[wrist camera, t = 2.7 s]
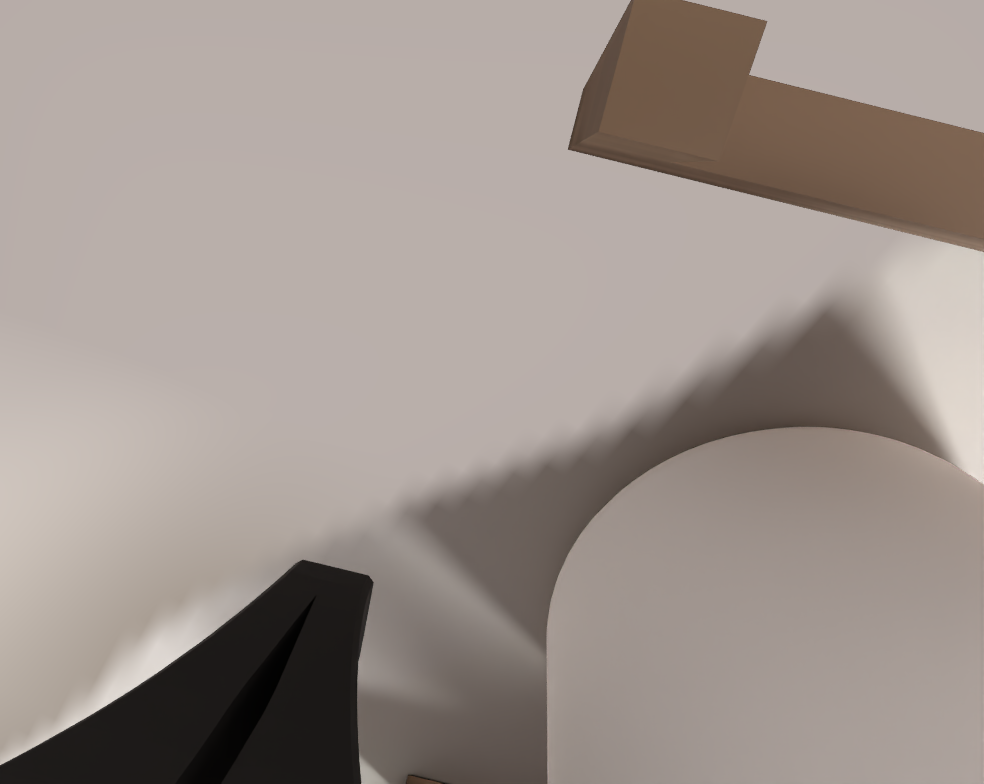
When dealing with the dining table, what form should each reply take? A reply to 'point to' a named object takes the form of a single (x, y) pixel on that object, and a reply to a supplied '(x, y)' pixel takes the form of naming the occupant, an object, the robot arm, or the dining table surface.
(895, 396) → the dining table surface
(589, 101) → the wooden pieces
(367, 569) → the dining table surface
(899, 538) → the cup
